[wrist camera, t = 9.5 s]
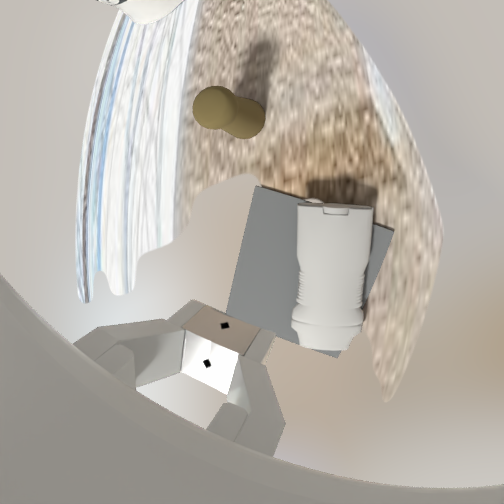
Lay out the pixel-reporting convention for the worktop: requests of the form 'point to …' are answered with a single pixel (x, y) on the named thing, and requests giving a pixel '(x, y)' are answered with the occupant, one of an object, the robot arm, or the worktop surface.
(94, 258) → the worktop surface
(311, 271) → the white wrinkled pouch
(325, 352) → the mat
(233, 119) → the cork
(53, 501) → the robot arm
